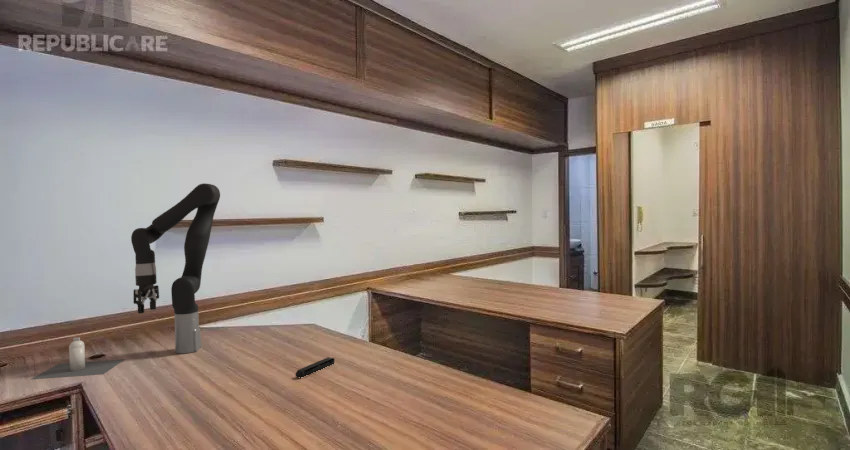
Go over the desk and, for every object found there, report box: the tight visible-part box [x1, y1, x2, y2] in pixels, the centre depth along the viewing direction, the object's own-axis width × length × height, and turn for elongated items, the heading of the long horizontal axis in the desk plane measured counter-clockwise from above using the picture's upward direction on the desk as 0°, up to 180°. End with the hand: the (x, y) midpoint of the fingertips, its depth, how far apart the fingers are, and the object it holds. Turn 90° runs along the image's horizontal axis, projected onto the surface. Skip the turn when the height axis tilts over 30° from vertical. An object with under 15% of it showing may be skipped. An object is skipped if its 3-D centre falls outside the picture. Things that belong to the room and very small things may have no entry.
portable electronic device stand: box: [295, 356, 336, 379], centre depth 161 cm, size 18×3×3 cm, turn 148°
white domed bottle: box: [68, 337, 86, 371], centre depth 161 cm, size 5×5×12 cm
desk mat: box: [29, 358, 126, 380], centre depth 162 cm, size 24×16×1 cm, turn 101°
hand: (147, 311), depth 178 cm, fingers open, 8 cm apart
